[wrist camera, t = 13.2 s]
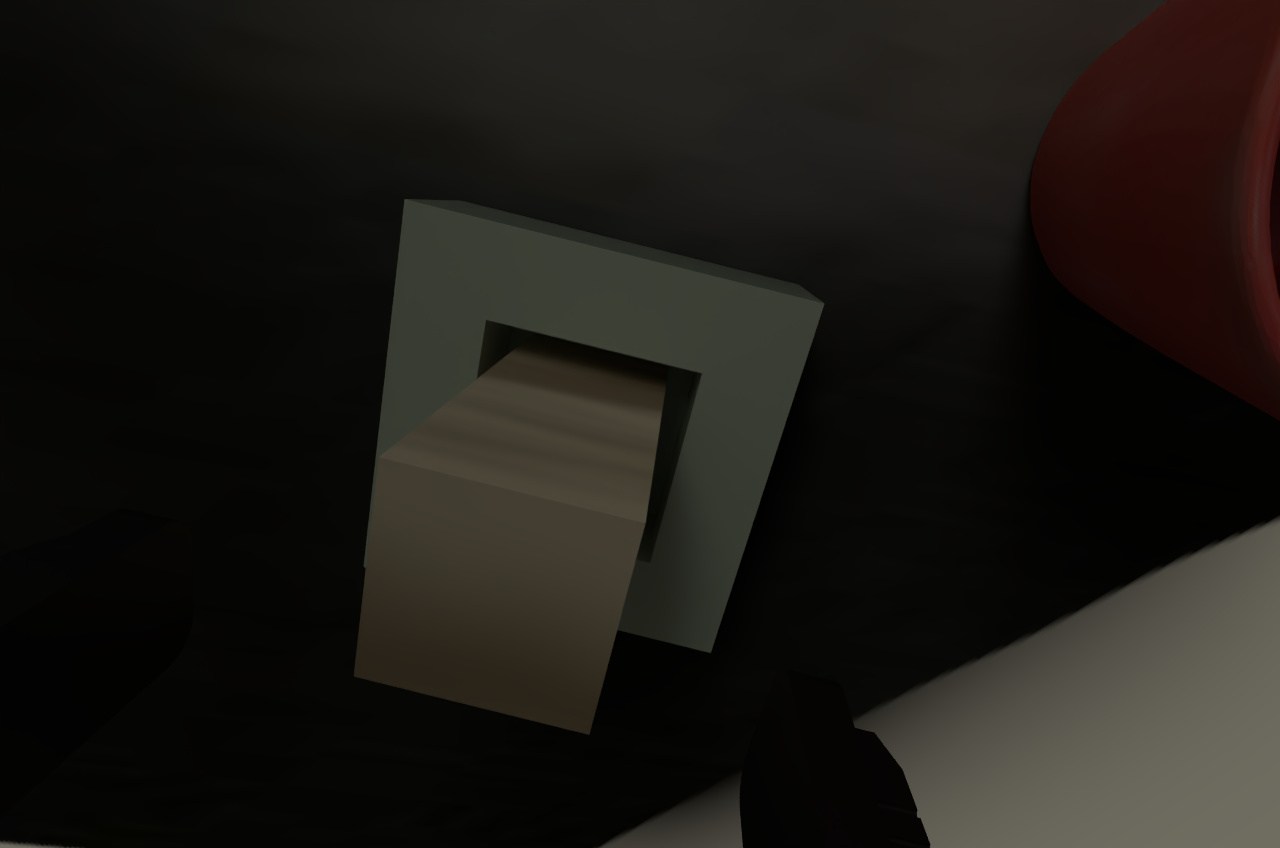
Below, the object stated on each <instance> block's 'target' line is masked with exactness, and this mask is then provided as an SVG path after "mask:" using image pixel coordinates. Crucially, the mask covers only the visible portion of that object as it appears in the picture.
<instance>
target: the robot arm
mask: <svg viewBox="0 0 1280 848" xmlns="http://www.w3.org/2000/svg"><path fill="white" fill-rule="evenodd" d="M192 592H193V589H192V534H191V531H190V529H189V527H188V526H187V525H186V524H185V523H183V522H179V521H175V520H171V519H167V518H162V517H158V516H154V515H150V514H146V513H142V512H137V511H133V510H129V509H118V510H115V511H112V512H110V513H108V514H106V515H104V516H102V517H101V518H99V519H97V520H95V521H93V522H91V523H89V524H88V525H86V526H84V527H82V528H80V529H78V530H76V531H75V532H73V533H71V534H69V535H67V536H61V537H57V538H54V539H51V540H47V541H44V542H41V543H37V544H34V545H31V546H27V547H24V548H21V549H18V550H14V551H11V552H8V553H6V554H4V555H2V556H0V818H1V817H2V816H3V815H4V814H5V813H6V812H7V811H8V810H10V809H11V808H12V807H13V806H14V805H15V804H16V803H17V802H18V801H20V800H21V799H22V798H23V797H24V796H25V795H26V794H27V793H28V792H30V791H31V790H32V789H33V788H34V787H35V786H36V785H37V784H39V783H40V782H41V781H42V780H43V779H44V778H45V777H46V776H47V775H49V774H50V773H51V772H52V771H53V770H54V769H55V768H56V767H58V766H59V765H60V764H61V763H62V762H63V761H64V760H65V759H66V758H68V757H69V756H70V755H71V754H72V753H73V752H74V751H75V750H77V749H78V748H79V747H80V746H81V745H82V744H83V743H84V742H85V741H87V740H88V739H89V738H90V737H91V736H92V735H93V734H94V733H96V732H97V731H98V730H99V729H100V728H101V727H102V726H103V725H104V724H106V723H107V722H108V721H109V720H110V719H111V718H112V717H113V716H114V715H116V714H117V713H118V712H119V711H120V710H121V709H122V708H123V707H125V706H126V705H127V704H128V703H129V702H130V701H131V700H132V699H133V698H135V697H136V696H137V695H138V694H139V693H140V692H141V691H142V690H144V689H145V688H146V687H147V686H148V685H149V684H150V683H151V682H152V681H154V680H155V679H156V678H157V677H158V676H159V675H160V674H161V673H163V672H164V671H165V670H166V669H167V668H168V667H169V666H170V665H171V664H172V663H173V661H174V660H175V659H176V657H177V656H178V655H179V653H180V652H181V650H182V648H183V646H184V644H185V642H186V640H187V638H188V635H189V633H190V629H191V625H192V616H193V593H192ZM740 816H741V828H742V840H743V848H930V842H929V840H928V837H927V834H926V832H925V829H924V826H923V824H922V821H921V818H917V807H916V805H915V802H914V799H913V797H912V794H911V791H910V789H909V786H908V783H907V781H906V778H905V775H904V772H903V770H902V768H901V767H900V766H899V765H898V763H897V762H896V760H895V759H894V758H893V757H892V755H891V754H890V753H889V751H888V750H887V749H886V747H885V746H884V745H883V743H882V742H881V741H880V739H879V738H878V737H877V735H876V734H875V733H874V732H869V731H865V730H861V729H857V728H855V727H854V724H853V720H852V717H851V714H850V711H849V708H848V704H847V701H846V698H845V695H844V691H843V689H842V687H841V685H840V684H839V683H838V682H836V681H832V680H828V679H824V678H820V677H816V676H811V675H807V674H803V673H799V672H795V671H791V670H787V669H781V670H780V671H779V672H778V673H777V675H776V676H775V679H774V681H773V683H772V686H771V689H770V692H769V694H768V697H767V700H766V702H765V705H764V708H763V711H762V713H761V716H760V719H759V721H758V724H757V727H756V730H755V732H754V735H753V738H752V740H751V743H750V746H749V749H748V751H747V754H746V758H745V761H744V766H743V771H742V777H741V785H740Z"/></svg>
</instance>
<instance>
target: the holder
mask: <svg viewBox="0 0 1280 848" xmlns="http://www.w3.org/2000/svg"><path fill="white" fill-rule="evenodd" d="M823 306H824V303H823V302H821V301H820V300H819V299H817V298H816V297H815V296H813V295H812V294H810V293H809V292H808V291H806V290H805V289H804V288H802V287H801V286H799V285H798V284H794V283H790V282H786V281H782V280H778V279H774V278H770V277H766V276H762V275H758V274H754V273H750V272H746V271H742V270H738V269H734V268H730V267H726V266H722V265H718V264H714V263H710V262H706V261H702V260H697V259H693V258H689V257H685V256H681V255H677V254H673V253H669V252H665V251H661V250H657V249H653V248H649V247H645V246H641V245H637V244H633V243H629V242H625V241H621V240H617V239H613V238H609V237H605V236H601V235H597V234H593V233H589V232H585V231H581V230H577V229H573V228H569V227H565V226H561V225H557V224H553V223H549V222H545V221H541V220H537V219H533V218H529V217H525V216H521V215H517V214H513V213H509V212H505V211H501V210H497V209H493V208H489V207H484V206H480V205H476V204H472V203H468V202H464V201H448V200H414V199H405V202H404V211H403V220H402V229H401V238H400V247H399V256H398V265H397V273H396V282H395V291H394V300H393V309H392V318H391V327H390V336H389V345H388V354H387V363H386V372H385V381H384V390H383V399H382V408H381V417H380V426H379V434H378V443H377V452H376V461H375V470H374V479H373V488H372V497H371V506H370V515H369V524H368V533H367V542H366V551H365V560H364V567H366V564H367V555H368V547H369V538H370V529H371V520H372V511H373V503H374V494H375V485H376V476H377V467H378V459H379V456H381V455H382V454H383V453H384V452H386V451H387V450H388V449H390V448H391V447H392V446H393V445H395V444H396V443H397V442H398V441H400V440H401V439H402V438H403V437H405V436H406V435H407V434H408V433H410V432H411V431H412V430H413V429H415V428H416V427H417V426H418V425H420V424H421V423H422V422H423V421H425V420H426V419H427V418H429V417H430V416H431V415H432V414H434V413H435V412H436V411H437V410H439V409H440V408H441V407H442V406H444V405H445V404H446V403H447V402H449V401H450V400H451V399H452V398H454V397H455V396H456V395H457V394H459V393H460V392H461V391H462V390H464V389H465V388H466V387H468V386H469V385H470V384H471V383H473V382H474V381H475V380H476V379H478V378H479V377H480V376H481V375H483V374H484V373H485V372H486V371H488V370H489V369H490V368H491V367H493V366H494V365H495V364H496V363H498V362H499V361H500V360H502V359H503V358H504V357H505V356H507V355H508V354H509V353H510V352H512V351H513V350H514V349H515V348H517V347H518V346H519V345H520V344H522V343H523V342H524V341H525V340H527V339H528V338H529V337H530V336H532V335H533V334H534V333H536V334H540V335H544V336H548V337H552V338H556V339H560V340H564V341H568V342H572V343H576V344H580V345H584V346H588V347H592V348H596V349H600V350H604V351H608V352H612V353H616V354H620V355H624V356H628V357H632V358H636V359H640V360H644V361H648V362H652V363H656V364H660V365H664V366H668V367H669V369H668V376H667V383H666V389H665V396H664V403H663V409H662V416H661V423H660V430H659V436H658V443H657V450H656V457H655V463H654V470H653V477H652V483H651V490H650V497H649V504H648V510H647V517H646V524H645V527H644V531H643V535H642V539H641V542H640V546H639V550H638V554H637V557H636V561H635V565H634V569H633V572H632V576H631V580H630V584H629V587H628V591H627V595H626V599H625V602H624V606H623V610H622V614H621V618H620V621H619V625H618V629H617V630H620V631H624V632H628V633H632V634H636V635H640V636H644V637H648V638H652V639H656V640H660V641H664V642H668V643H673V644H677V645H681V646H685V647H689V648H693V649H697V650H701V651H705V652H709V653H711V650H712V647H713V644H714V641H715V638H716V635H717V632H718V629H719V626H720V623H721V620H722V617H723V614H724V611H725V607H726V604H727V601H728V598H729V595H730V592H731V589H732V586H733V583H734V580H735V577H736V574H737V571H738V568H739V564H740V561H741V558H742V555H743V552H744V549H745V546H746V543H747V540H748V537H749V534H750V531H751V528H752V525H753V521H754V518H755V515H756V512H757V509H758V506H759V503H760V500H761V497H762V494H763V491H764V488H765V485H766V481H767V478H768V475H769V472H770V469H771V466H772V463H773V460H774V457H775V454H776V451H777V448H778V445H779V442H780V438H781V435H782V432H783V429H784V426H785V423H786V420H787V417H788V414H789V411H790V408H791V405H792V402H793V399H794V395H795V392H796V389H797V386H798V383H799V380H800V377H801V374H802V371H803V368H804V365H805V362H806V359H807V356H808V352H809V349H810V346H811V343H812V340H813V337H814V334H815V331H816V328H817V325H818V322H819V319H820V316H821V313H822V309H823Z"/></svg>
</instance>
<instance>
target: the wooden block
mask: <svg viewBox="0 0 1280 848" xmlns="http://www.w3.org/2000/svg"><path fill="white" fill-rule="evenodd" d="M668 369H669V367H668V366H664V365H660V364H656V363H652V362H648V361H644V360H640V359H636V358H632V357H628V356H624V355H620V354H616V353H612V352H608V351H604V350H600V349H596V348H592V347H588V346H584V345H580V344H576V343H572V342H568V341H564V340H560V339H556V338H552V337H548V336H544V335H540V334H536V333H534V334H533V335H532V336H530V337H529V338H528V339H527V340H525V341H524V342H523V343H522V344H520V345H519V346H518V347H517V348H515V349H514V350H513V351H512V352H510V353H509V354H508V355H507V356H505V357H504V358H503V359H502V360H500V361H499V362H498V363H496V364H495V365H494V366H493V367H491V368H490V369H489V370H488V371H486V372H485V373H484V374H483V375H481V376H480V377H479V378H478V379H476V380H475V381H474V382H473V383H471V384H470V385H469V386H468V387H466V388H465V389H464V390H462V391H461V392H460V393H459V394H457V395H456V396H455V397H454V398H452V399H451V400H450V401H449V402H447V403H446V404H445V405H444V406H442V407H441V408H440V409H439V410H437V411H436V412H435V413H434V414H432V415H431V416H430V417H429V418H427V419H426V420H425V421H423V422H422V423H421V424H420V425H418V426H417V427H416V428H415V429H413V430H412V431H411V432H410V433H408V434H407V435H406V436H405V437H403V438H402V439H401V440H400V441H398V442H397V443H396V444H395V445H393V446H392V447H391V448H390V449H388V450H387V451H386V452H384V453H383V454H382V455H381V456H379V459H378V467H377V476H376V485H375V494H374V503H373V511H372V520H371V529H370V538H369V547H368V555H367V564H366V573H365V582H364V591H363V599H362V608H361V617H360V626H359V635H358V643H357V652H356V661H355V670H354V677H358V678H362V679H367V680H371V681H375V682H379V683H383V684H387V685H391V686H395V687H399V688H403V689H407V690H411V691H415V692H419V693H423V694H427V695H431V696H435V697H439V698H443V699H447V700H451V701H455V702H459V703H463V704H467V705H471V706H475V707H480V708H484V709H488V710H492V711H496V712H500V713H504V714H508V715H512V716H516V717H520V718H524V719H528V720H532V721H536V722H540V723H544V724H548V725H552V726H556V727H560V728H564V729H568V730H572V731H576V732H580V733H584V734H590V730H591V726H592V723H593V719H594V715H595V711H596V708H597V704H598V700H599V696H600V693H601V689H602V685H603V681H604V678H605V674H606V670H607V666H608V663H609V659H610V655H611V651H612V648H613V644H614V640H615V636H616V633H617V629H618V625H619V621H620V618H621V614H622V610H623V606H624V602H625V599H626V595H627V591H628V587H629V584H630V580H631V576H632V572H633V569H634V565H635V561H636V557H637V554H638V550H639V546H640V542H641V539H642V535H643V531H644V527H645V524H646V517H647V510H648V504H649V497H650V490H651V483H652V477H653V470H654V463H655V457H656V450H657V443H658V436H659V430H660V423H661V416H662V409H663V403H664V396H665V389H666V383H667V376H668Z"/></svg>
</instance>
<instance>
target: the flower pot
mask: <svg viewBox="0 0 1280 848" xmlns="http://www.w3.org/2000/svg"><path fill="white" fill-rule="evenodd" d="M1030 209H1031V219H1032V225H1033V229H1034V233H1035V237H1036V239H1037V242H1038V244H1039V247H1040V250H1041V252H1042V255H1043V257H1044V260H1045V262H1046V264H1047V266H1048V268H1049V269H1050V271H1051V272H1052V273H1053V275H1054V276H1055V278H1056V279H1057V280H1058V281H1059V282H1060V283H1061V284H1062V285H1063V286H1064V287H1065V288H1066V289H1067V290H1068V291H1069V292H1070V293H1071V294H1073V295H1074V296H1075V297H1076V298H1078V299H1079V300H1080V301H1082V302H1083V303H1085V304H1086V305H1088V306H1089V307H1091V308H1092V309H1094V310H1095V311H1096V312H1098V313H1099V314H1101V315H1102V316H1103V317H1105V318H1106V319H1108V320H1109V321H1111V322H1112V323H1114V324H1115V325H1117V326H1118V327H1120V328H1121V329H1123V330H1125V331H1126V332H1128V333H1129V334H1131V335H1133V336H1134V337H1136V338H1138V339H1139V340H1141V341H1143V342H1144V343H1146V344H1148V345H1149V346H1151V347H1153V348H1154V349H1156V350H1158V351H1159V352H1161V353H1162V354H1164V355H1166V356H1167V357H1169V358H1171V359H1173V360H1174V361H1176V362H1178V363H1180V364H1181V365H1183V366H1185V367H1187V368H1188V369H1190V370H1192V371H1193V372H1195V373H1197V374H1199V375H1200V376H1202V377H1204V378H1206V379H1207V380H1209V381H1211V382H1213V383H1215V384H1216V385H1218V386H1220V387H1222V388H1223V389H1225V390H1227V391H1229V392H1230V393H1232V394H1234V395H1236V396H1237V397H1239V398H1241V399H1243V400H1244V401H1246V402H1248V403H1250V404H1251V405H1253V406H1255V407H1257V408H1258V409H1260V410H1262V411H1264V412H1265V413H1267V414H1269V415H1271V416H1272V417H1274V418H1276V419H1278V420H1279V421H1280V0H1168V1H1167V2H1166V3H1164V4H1163V5H1162V6H1161V7H1160V8H1158V9H1157V10H1156V11H1155V12H1153V13H1152V14H1151V15H1150V16H1148V17H1147V18H1146V19H1145V20H1144V21H1142V22H1141V23H1140V24H1139V25H1137V26H1136V27H1135V28H1134V29H1132V30H1131V31H1130V32H1129V33H1128V34H1126V35H1125V36H1124V37H1123V38H1121V39H1120V40H1119V41H1118V42H1117V43H1115V44H1114V45H1113V46H1112V47H1110V48H1109V49H1108V50H1107V51H1106V52H1104V53H1103V54H1102V55H1101V56H1100V57H1099V58H1098V59H1096V60H1095V61H1094V62H1093V63H1092V64H1091V66H1090V67H1089V68H1088V69H1087V70H1086V71H1085V72H1084V73H1083V74H1082V75H1081V76H1080V77H1079V79H1078V80H1077V81H1076V82H1075V84H1074V85H1073V86H1072V87H1071V88H1070V90H1069V91H1068V92H1067V94H1066V95H1065V97H1064V98H1063V100H1062V101H1061V103H1060V104H1059V106H1058V107H1057V109H1056V111H1055V113H1054V115H1053V116H1052V118H1051V120H1050V122H1049V124H1048V126H1047V128H1046V131H1045V133H1044V135H1043V138H1042V140H1041V142H1040V145H1039V148H1038V151H1037V155H1036V158H1035V162H1034V165H1033V169H1032V176H1031V187H1030Z"/></svg>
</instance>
